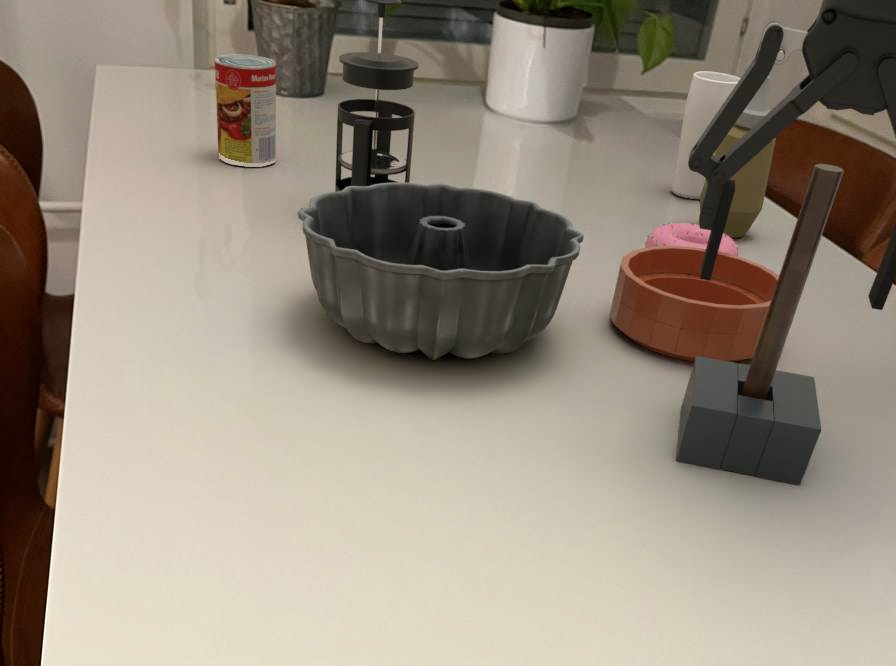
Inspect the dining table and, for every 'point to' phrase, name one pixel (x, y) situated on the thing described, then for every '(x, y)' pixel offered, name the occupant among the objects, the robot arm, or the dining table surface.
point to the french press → (378, 75)
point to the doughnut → (688, 237)
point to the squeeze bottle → (747, 168)
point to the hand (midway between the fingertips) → (789, 288)
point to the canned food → (246, 107)
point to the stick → (792, 278)
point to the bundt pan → (437, 266)
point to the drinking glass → (699, 126)
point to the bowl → (692, 303)
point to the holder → (748, 422)
